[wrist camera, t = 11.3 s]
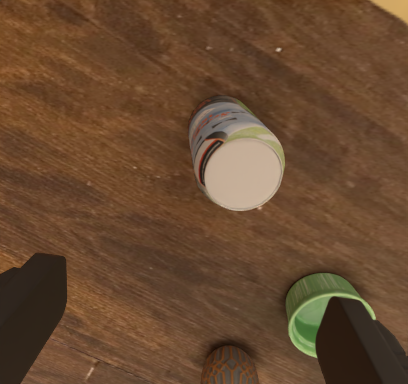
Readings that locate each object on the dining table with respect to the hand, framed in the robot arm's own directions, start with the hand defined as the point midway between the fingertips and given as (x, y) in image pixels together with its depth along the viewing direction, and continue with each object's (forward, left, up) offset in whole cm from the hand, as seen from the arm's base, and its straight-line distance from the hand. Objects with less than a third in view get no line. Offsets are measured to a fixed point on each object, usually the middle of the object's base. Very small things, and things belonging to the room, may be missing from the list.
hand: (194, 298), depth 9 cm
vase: (+28, +6, -23) cm, 36 cm away
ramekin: (+17, +15, -23) cm, 32 cm away
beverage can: (-1, +1, -23) cm, 23 cm away
